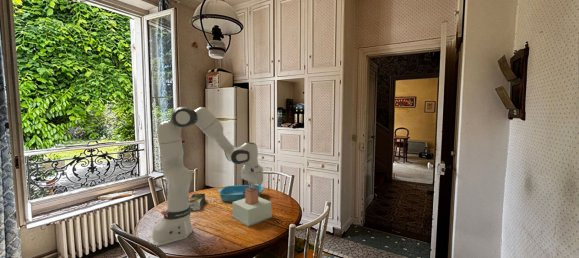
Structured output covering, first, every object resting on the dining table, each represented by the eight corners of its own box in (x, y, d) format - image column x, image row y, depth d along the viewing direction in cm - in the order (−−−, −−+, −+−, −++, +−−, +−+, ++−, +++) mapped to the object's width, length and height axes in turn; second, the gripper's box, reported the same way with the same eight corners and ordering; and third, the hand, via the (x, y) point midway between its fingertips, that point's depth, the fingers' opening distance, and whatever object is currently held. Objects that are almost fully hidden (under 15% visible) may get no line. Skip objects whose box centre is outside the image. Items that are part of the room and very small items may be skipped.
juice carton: (200, 210, 164) (200, 202, 163) (185, 212, 162) (185, 203, 162) (205, 200, 183) (205, 192, 183) (192, 201, 182) (192, 193, 181)
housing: (248, 226, 139) (247, 210, 139) (231, 217, 153) (231, 202, 152) (272, 216, 152) (272, 202, 152) (255, 208, 166) (255, 194, 165)
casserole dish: (214, 203, 177) (214, 194, 176) (221, 193, 199) (221, 185, 198) (263, 202, 179) (263, 193, 178) (265, 192, 201) (265, 184, 200)
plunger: (250, 209, 148) (250, 191, 147) (245, 206, 152) (244, 188, 151) (258, 206, 152) (258, 188, 151) (253, 203, 156) (252, 186, 156)
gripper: (238, 165, 156) (238, 185, 157) (256, 170, 141) (256, 193, 142) (246, 163, 160) (246, 183, 161) (264, 168, 145) (265, 190, 146)
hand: (251, 188), depth 151 cm, fingers closed
